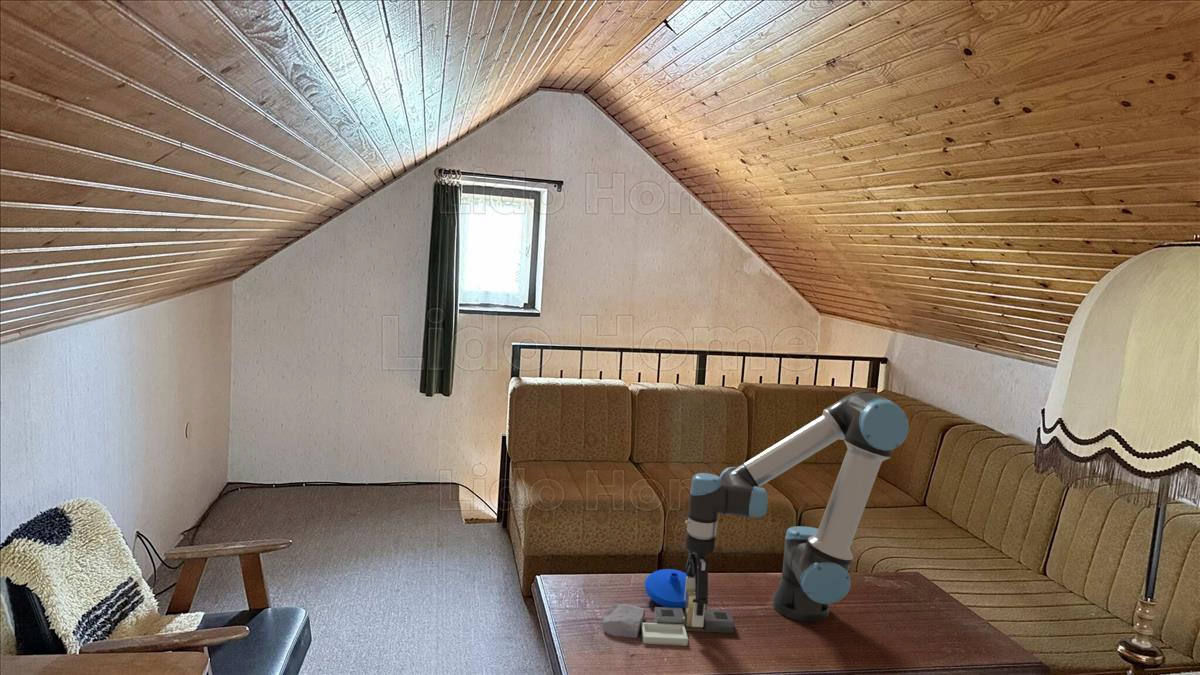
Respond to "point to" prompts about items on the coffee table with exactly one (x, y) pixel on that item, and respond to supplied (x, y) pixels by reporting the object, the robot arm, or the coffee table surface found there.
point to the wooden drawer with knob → (690, 609)
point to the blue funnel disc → (667, 587)
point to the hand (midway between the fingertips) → (693, 613)
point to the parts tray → (664, 634)
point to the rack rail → (712, 619)
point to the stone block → (623, 620)
